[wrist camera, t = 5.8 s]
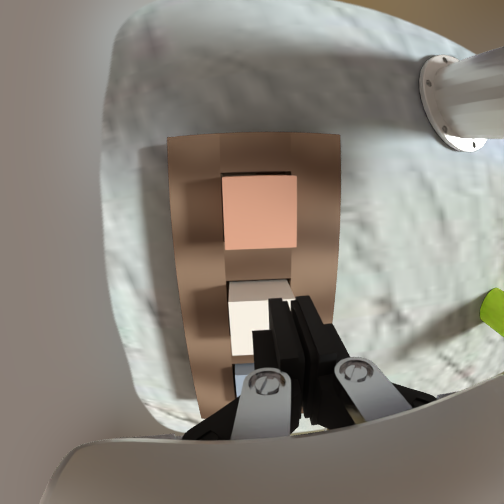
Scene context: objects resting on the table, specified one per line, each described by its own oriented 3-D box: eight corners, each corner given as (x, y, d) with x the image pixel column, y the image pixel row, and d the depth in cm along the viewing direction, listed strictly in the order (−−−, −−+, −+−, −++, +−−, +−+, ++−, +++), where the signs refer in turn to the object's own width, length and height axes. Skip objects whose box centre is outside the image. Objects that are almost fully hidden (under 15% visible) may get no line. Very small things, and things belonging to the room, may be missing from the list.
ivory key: (229, 281, 25) (228, 302, 21) (286, 279, 25) (295, 298, 21) (232, 330, 26) (232, 355, 22) (285, 327, 26) (292, 352, 22)
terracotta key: (224, 176, 22) (221, 177, 18) (286, 174, 22) (296, 175, 18) (227, 236, 24) (225, 249, 20) (287, 234, 24) (296, 247, 20)
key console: (177, 142, 24) (167, 137, 20) (325, 139, 25) (340, 134, 21) (204, 396, 33) (201, 418, 29) (311, 390, 33) (318, 411, 29)
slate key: (235, 351, 29) (235, 375, 25) (281, 349, 29) (287, 372, 25) (237, 384, 30) (238, 408, 27) (280, 382, 31) (284, 405, 27)
